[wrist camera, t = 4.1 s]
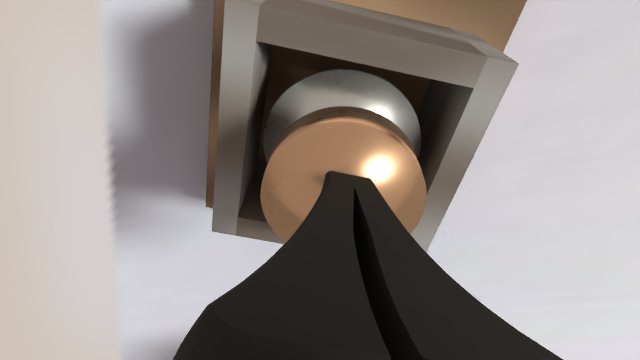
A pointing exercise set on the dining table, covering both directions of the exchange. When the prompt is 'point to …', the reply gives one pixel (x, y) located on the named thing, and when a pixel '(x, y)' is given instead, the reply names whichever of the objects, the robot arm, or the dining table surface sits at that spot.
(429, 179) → the base
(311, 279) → the robot arm
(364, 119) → the plunger
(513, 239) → the dining table surface
